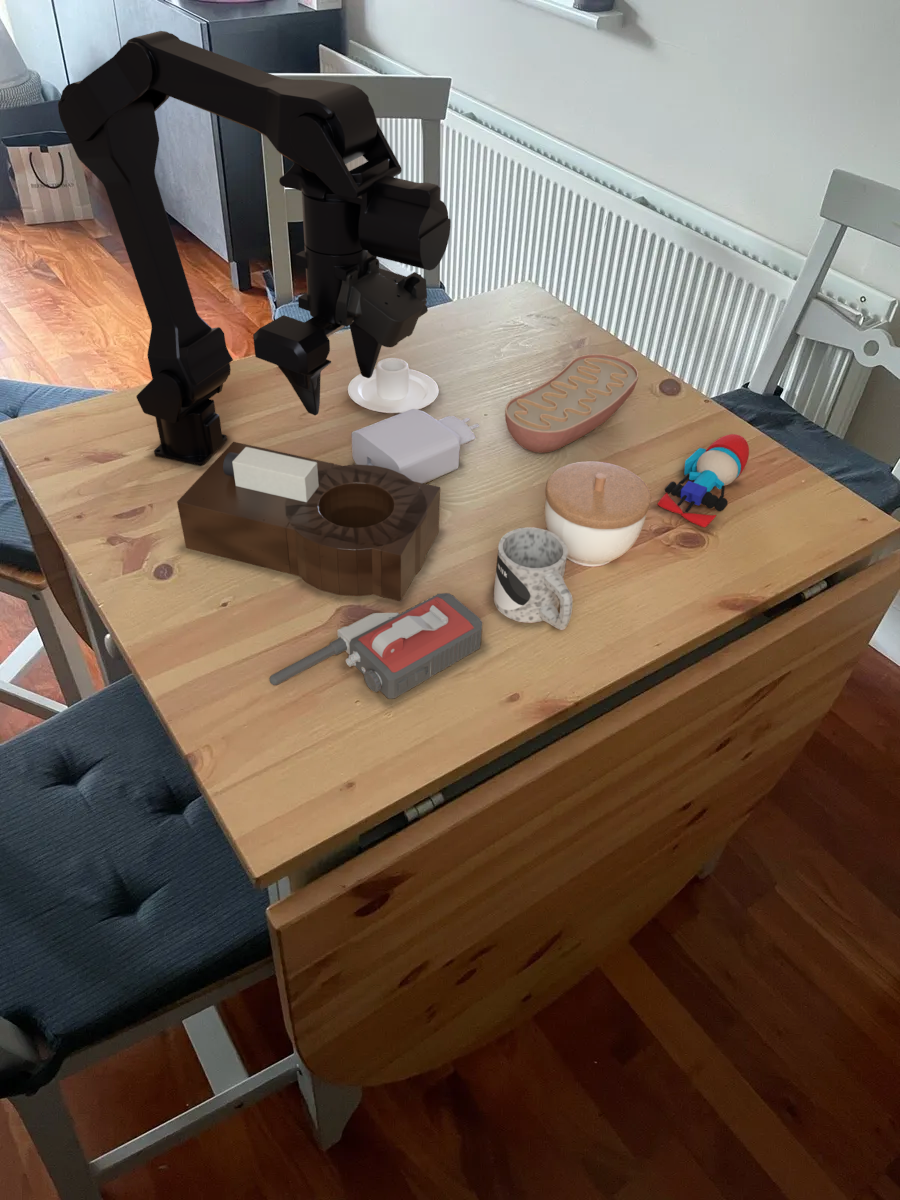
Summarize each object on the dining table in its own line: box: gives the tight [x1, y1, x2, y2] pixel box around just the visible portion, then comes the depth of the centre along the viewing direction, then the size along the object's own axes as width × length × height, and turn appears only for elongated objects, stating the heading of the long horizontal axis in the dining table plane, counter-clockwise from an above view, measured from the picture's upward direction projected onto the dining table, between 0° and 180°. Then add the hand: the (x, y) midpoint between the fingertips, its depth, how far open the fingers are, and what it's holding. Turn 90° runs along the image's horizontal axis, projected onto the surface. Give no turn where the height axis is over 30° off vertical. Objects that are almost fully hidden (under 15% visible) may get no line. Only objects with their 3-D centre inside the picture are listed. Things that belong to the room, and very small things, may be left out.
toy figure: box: [657, 433, 750, 528], centre depth 106 cm, size 8×5×15 cm
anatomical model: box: [504, 353, 639, 454], centre depth 115 cm, size 23×10×5 cm, turn 142°
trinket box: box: [544, 460, 652, 568], centre depth 95 cm, size 11×11×9 cm
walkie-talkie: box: [268, 592, 483, 700], centre depth 83 cm, size 9×4×20 cm
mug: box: [493, 526, 574, 631], centre depth 89 cm, size 10×7×7 cm
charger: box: [351, 409, 480, 484], centre depth 109 cm, size 5×9×15 cm
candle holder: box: [347, 357, 440, 414], centre depth 120 cm, size 12×12×4 cm
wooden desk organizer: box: [176, 441, 441, 602], centre depth 96 cm, size 24×14×6 cm, turn 72°
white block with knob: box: [223, 447, 319, 502], centre depth 94 cm, size 9×3×3 cm, turn 72°
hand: (340, 394), depth 94 cm, fingers open, 9 cm apart
